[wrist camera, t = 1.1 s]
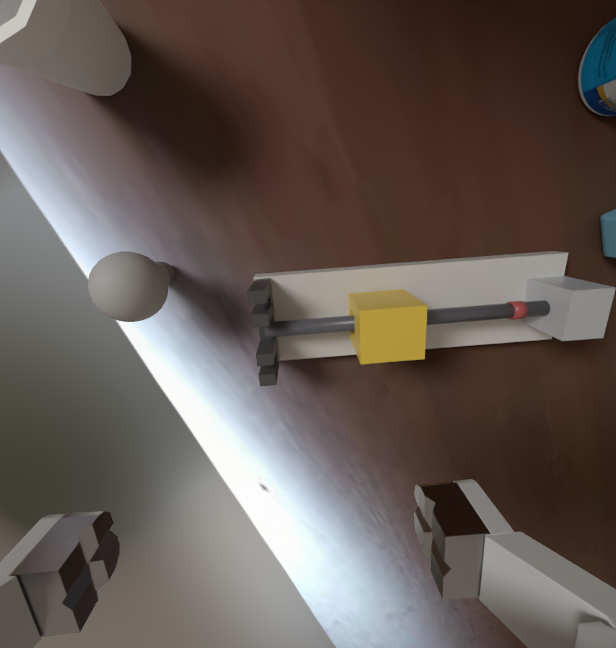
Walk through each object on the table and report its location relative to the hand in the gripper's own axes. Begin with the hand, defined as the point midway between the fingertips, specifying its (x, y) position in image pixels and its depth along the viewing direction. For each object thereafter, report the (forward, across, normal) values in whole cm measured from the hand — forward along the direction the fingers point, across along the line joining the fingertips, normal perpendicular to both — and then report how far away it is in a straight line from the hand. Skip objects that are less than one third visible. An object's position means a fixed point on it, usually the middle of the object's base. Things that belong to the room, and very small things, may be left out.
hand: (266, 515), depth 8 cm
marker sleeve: (+27, -9, +1) cm, 28 cm away
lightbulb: (+30, +14, -5) cm, 33 cm away
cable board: (+30, -14, +1) cm, 32 cm away
